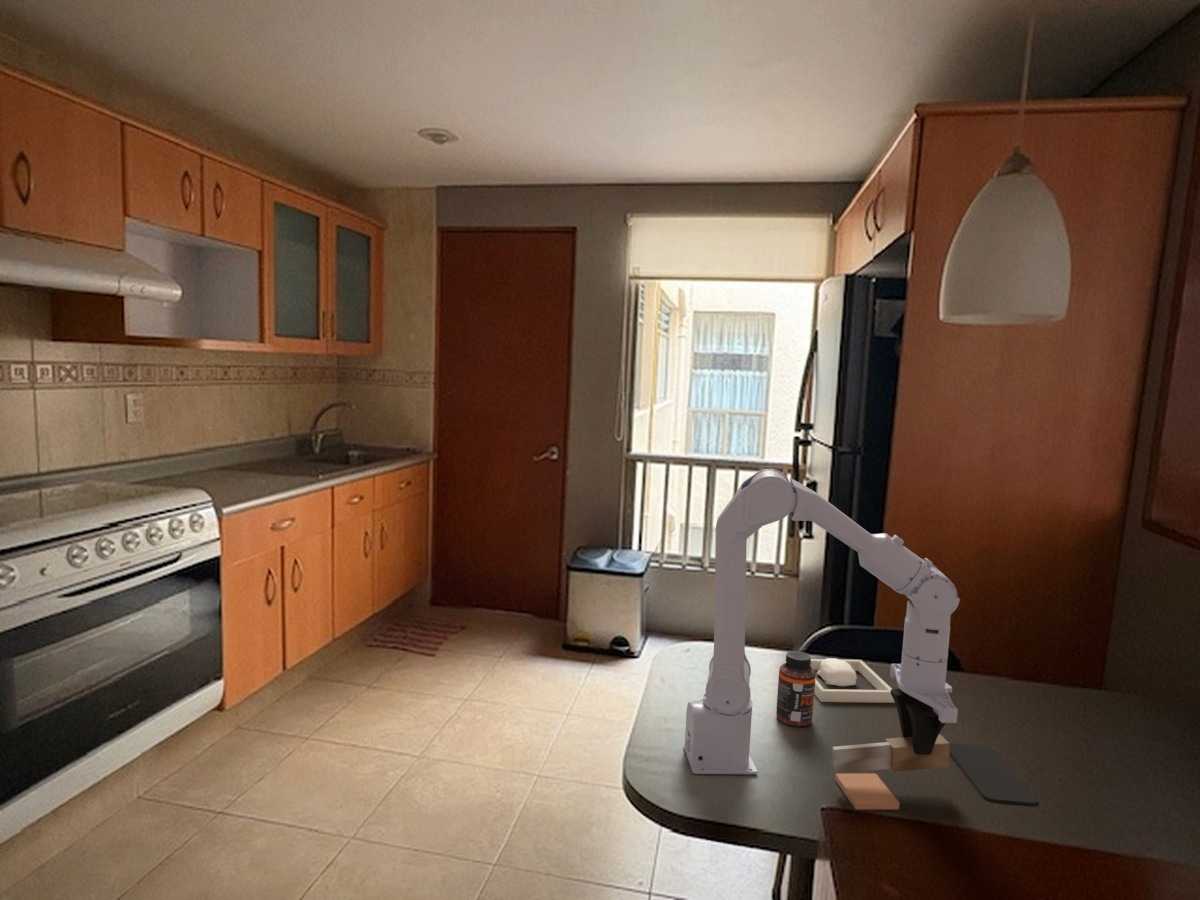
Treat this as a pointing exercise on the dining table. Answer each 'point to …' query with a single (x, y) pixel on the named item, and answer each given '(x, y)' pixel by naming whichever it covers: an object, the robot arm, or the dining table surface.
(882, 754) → the scraper
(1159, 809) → the dining table surface
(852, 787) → the tile
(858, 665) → the garlic dish rim
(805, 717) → the supplement bottle
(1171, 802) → the dining table surface
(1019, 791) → the phone
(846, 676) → the white rounded lump
